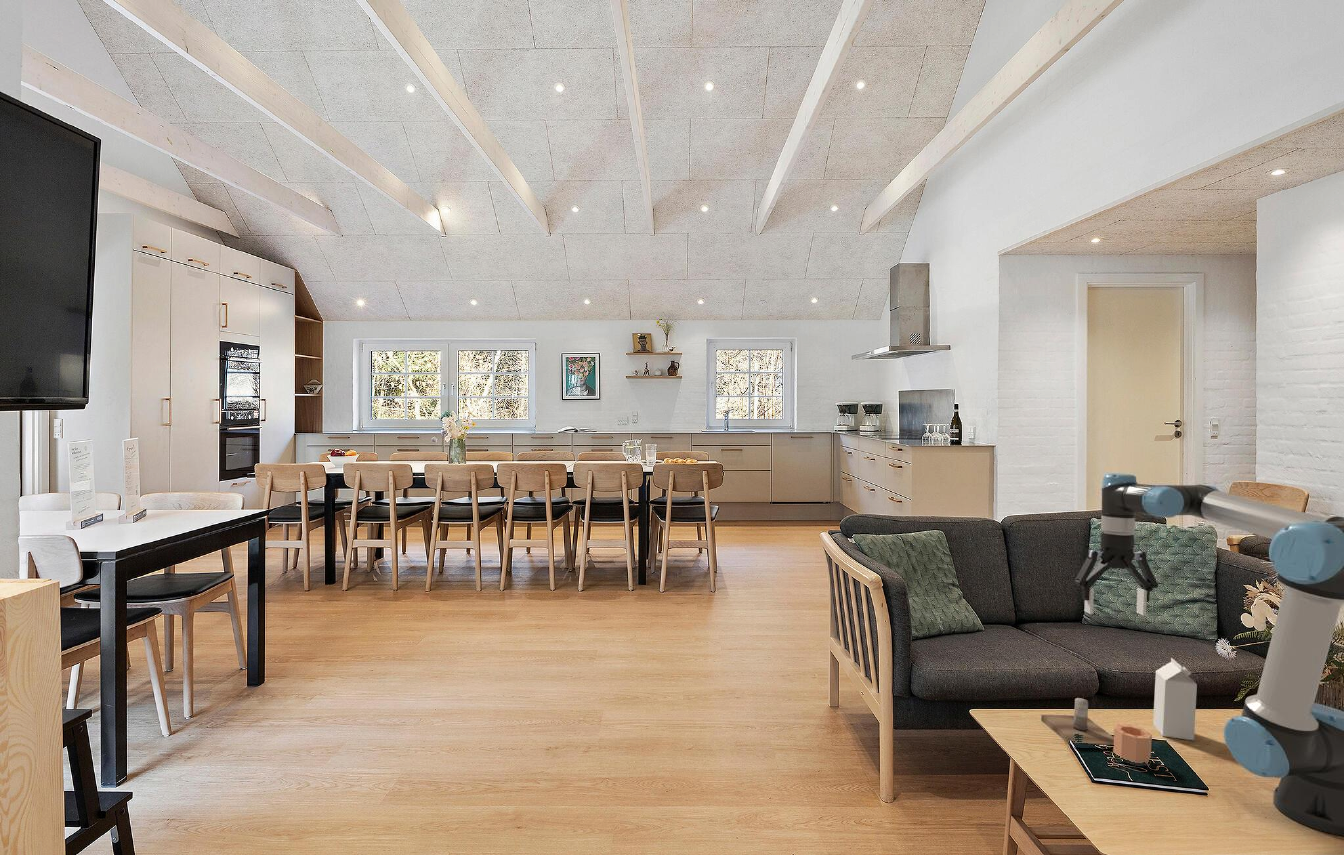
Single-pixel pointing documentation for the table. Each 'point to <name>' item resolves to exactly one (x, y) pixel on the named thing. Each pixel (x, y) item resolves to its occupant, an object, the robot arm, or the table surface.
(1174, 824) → the table surface
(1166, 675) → the milk carton
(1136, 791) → the table surface
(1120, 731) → the ring
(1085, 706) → the block
